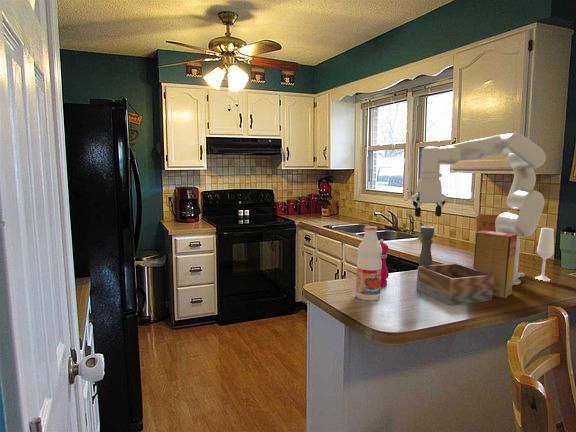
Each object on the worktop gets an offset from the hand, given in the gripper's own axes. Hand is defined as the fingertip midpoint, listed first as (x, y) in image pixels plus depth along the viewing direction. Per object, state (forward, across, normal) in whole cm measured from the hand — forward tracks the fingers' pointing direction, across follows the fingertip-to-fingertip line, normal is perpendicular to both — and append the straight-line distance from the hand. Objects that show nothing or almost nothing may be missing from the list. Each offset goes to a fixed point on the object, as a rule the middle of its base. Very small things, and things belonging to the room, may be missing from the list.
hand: (427, 216), depth 172 cm
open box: (+30, -3, +16) cm, 34 cm away
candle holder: (+30, -1, -2) cm, 30 cm away
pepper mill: (+30, +20, -3) cm, 36 cm away
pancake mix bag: (+31, -52, -20) cm, 63 cm away
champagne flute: (+31, -60, +2) cm, 68 cm away
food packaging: (+31, -21, +16) cm, 40 cm away
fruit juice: (+30, +32, +12) cm, 46 cm away
